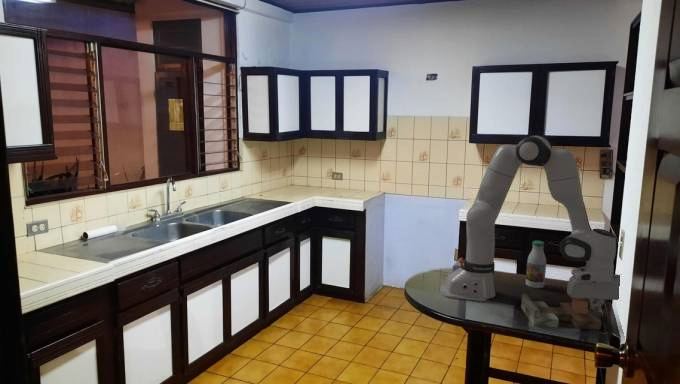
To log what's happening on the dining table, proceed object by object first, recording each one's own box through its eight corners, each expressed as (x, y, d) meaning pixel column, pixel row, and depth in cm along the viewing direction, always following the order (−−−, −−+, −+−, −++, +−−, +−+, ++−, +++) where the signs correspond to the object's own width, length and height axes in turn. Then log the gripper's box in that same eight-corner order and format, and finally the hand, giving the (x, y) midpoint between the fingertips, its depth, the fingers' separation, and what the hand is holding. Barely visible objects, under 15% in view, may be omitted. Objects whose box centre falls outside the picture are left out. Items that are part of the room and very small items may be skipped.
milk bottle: (528, 281, 218) (531, 238, 215) (546, 285, 214) (550, 241, 211) (523, 286, 212) (526, 242, 209) (541, 290, 208) (545, 245, 204)
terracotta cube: (575, 313, 177) (576, 301, 176) (571, 309, 181) (572, 297, 180) (586, 314, 177) (588, 302, 176) (582, 309, 181) (583, 298, 180)
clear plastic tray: (533, 326, 173) (534, 310, 172) (521, 308, 189) (522, 293, 188) (600, 329, 171) (602, 313, 170) (582, 310, 187) (583, 296, 186)
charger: (478, 268, 236) (472, 277, 223) (459, 265, 240) (452, 274, 227) (478, 259, 235) (473, 267, 222) (459, 256, 239) (452, 265, 226)
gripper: (624, 272, 178) (620, 307, 181) (567, 269, 180) (563, 304, 182) (633, 278, 172) (628, 314, 174) (573, 275, 174) (570, 311, 176)
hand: (594, 309), depth 178 cm, fingers closed
